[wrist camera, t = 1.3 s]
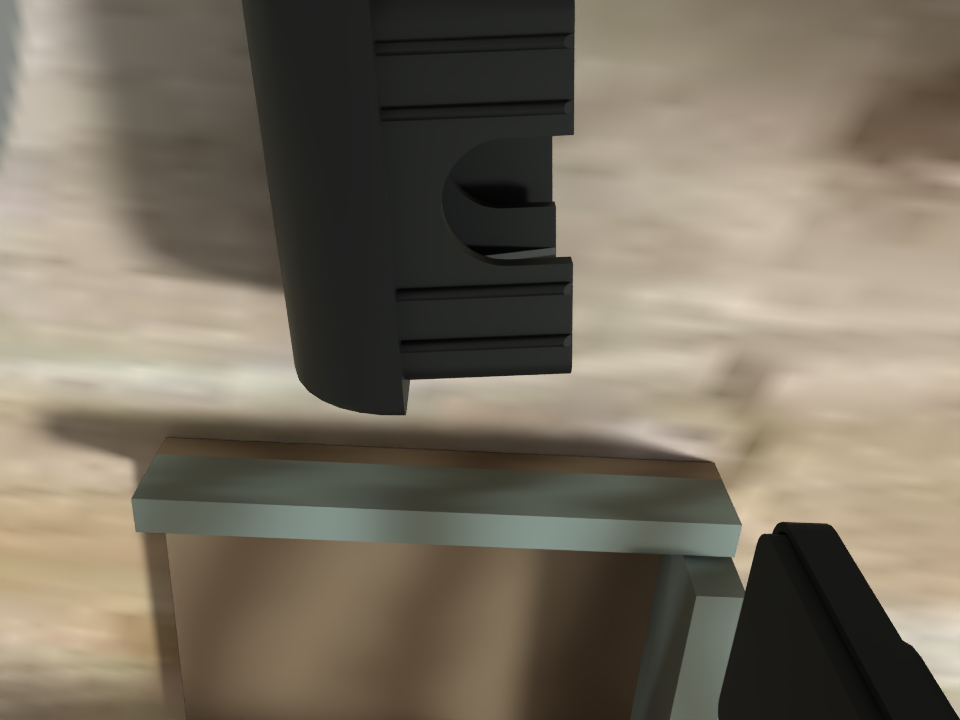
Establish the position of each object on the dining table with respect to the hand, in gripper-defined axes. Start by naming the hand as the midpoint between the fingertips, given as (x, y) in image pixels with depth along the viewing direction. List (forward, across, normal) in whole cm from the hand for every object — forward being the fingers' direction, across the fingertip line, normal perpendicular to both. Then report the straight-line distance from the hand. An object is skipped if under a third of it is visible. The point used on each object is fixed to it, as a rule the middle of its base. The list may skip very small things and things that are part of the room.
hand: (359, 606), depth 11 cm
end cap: (+18, 0, -1) cm, 18 cm away
